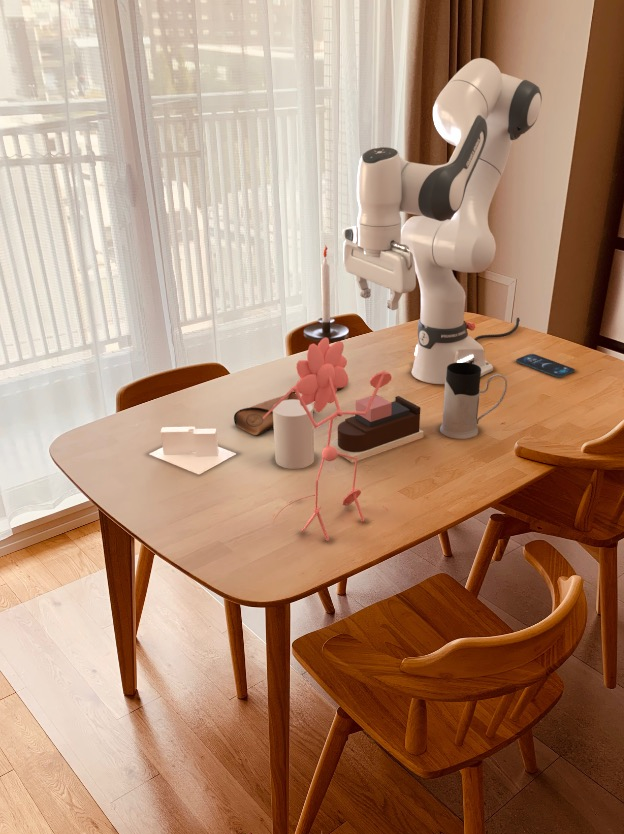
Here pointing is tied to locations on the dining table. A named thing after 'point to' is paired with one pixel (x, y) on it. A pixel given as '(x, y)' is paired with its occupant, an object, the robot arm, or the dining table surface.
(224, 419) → the dining table surface
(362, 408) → the two-tone stepped block
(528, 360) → the smartphone
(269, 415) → the sunglasses case
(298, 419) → the cup
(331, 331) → the candlestick
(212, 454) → the napkin holder
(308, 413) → the figurine
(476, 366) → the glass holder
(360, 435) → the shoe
